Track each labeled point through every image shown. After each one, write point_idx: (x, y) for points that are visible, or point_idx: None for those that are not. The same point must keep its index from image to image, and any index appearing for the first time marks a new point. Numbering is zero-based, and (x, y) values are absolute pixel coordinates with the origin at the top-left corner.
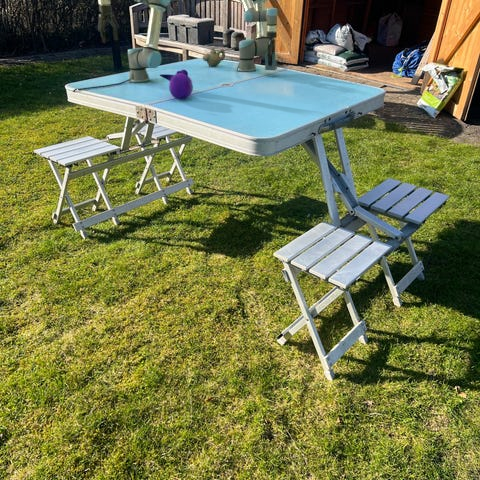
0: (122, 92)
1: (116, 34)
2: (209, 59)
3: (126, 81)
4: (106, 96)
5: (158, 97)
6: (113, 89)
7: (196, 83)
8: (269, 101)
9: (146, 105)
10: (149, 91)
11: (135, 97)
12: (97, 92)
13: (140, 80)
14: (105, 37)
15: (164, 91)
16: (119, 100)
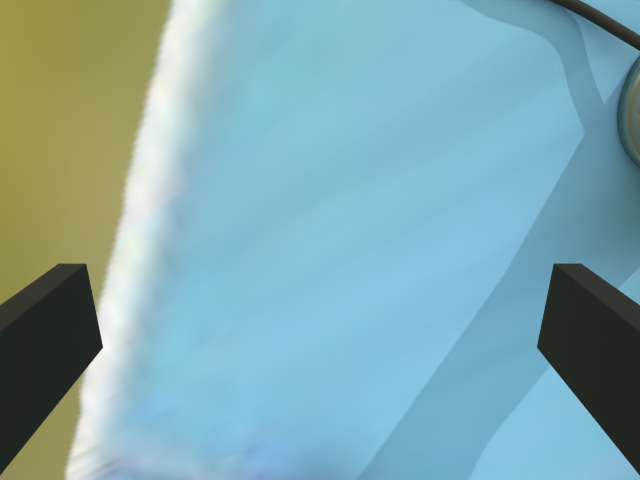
0: (299, 194)
1: (612, 427)
2: None
3: (618, 37)
4: (162, 157)
5: (251, 439)
6: (370, 70)
7: (618, 471)
8: None
9: (89, 459)
10: (369, 336)
11: (208, 338)
12: (243, 4)
13: (636, 152)
14: (32, 424)
15: (389, 408)
16: (111, 294)
